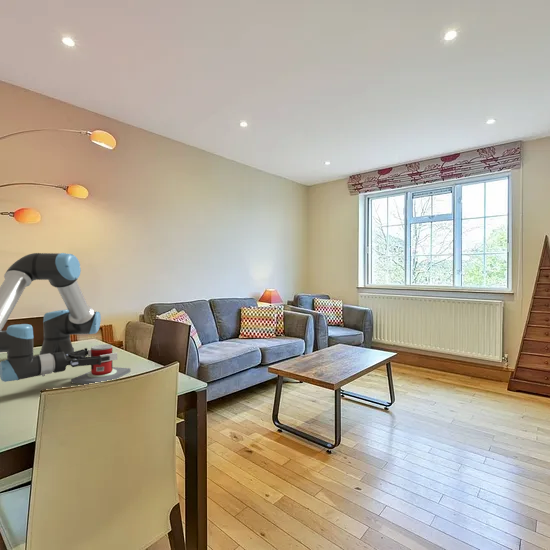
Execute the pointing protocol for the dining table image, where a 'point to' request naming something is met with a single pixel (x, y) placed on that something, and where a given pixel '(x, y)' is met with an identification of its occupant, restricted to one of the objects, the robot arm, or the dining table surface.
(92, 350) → the canned food
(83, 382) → the board
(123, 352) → the dining table surface
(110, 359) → the robot arm
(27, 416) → the dining table surface
